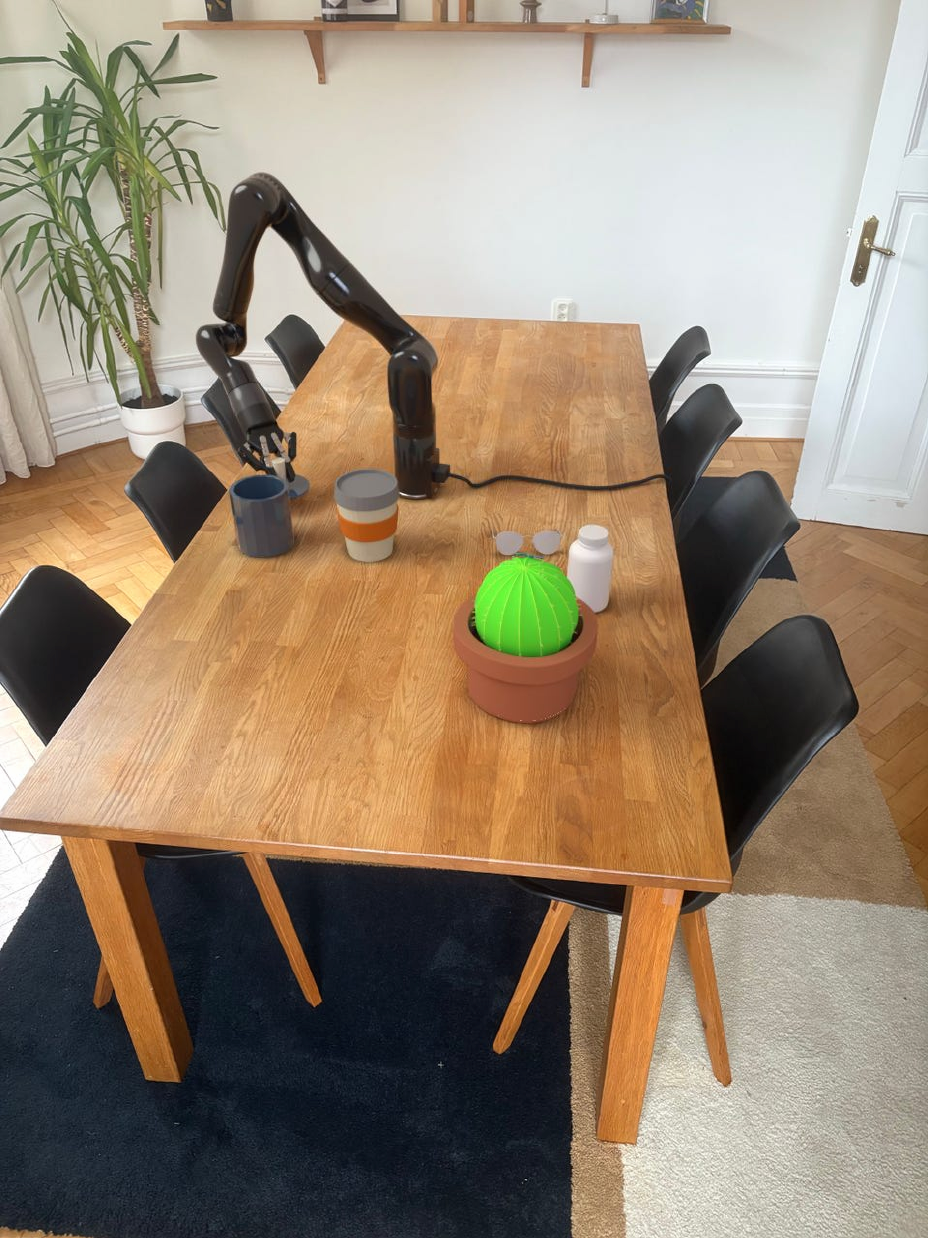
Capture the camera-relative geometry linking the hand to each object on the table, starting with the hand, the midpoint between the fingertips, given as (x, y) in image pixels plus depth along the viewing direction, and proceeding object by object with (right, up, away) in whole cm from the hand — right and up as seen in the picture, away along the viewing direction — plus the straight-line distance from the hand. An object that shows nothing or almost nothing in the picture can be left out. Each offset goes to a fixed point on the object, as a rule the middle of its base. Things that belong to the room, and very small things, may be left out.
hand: (284, 482), depth 200 cm
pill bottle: (+61, -26, -25) cm, 71 cm away
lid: (-1, -1, +3) cm, 3 cm away
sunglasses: (+50, -14, -8) cm, 53 cm away
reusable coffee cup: (+19, -15, -11) cm, 27 cm away
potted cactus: (+47, -40, -46) cm, 77 cm away
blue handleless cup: (-2, -13, -9) cm, 16 cm away
